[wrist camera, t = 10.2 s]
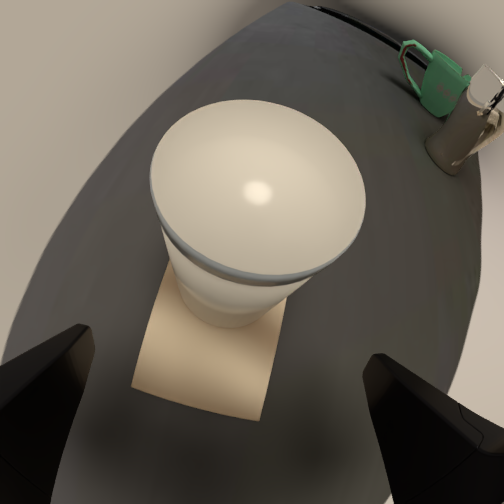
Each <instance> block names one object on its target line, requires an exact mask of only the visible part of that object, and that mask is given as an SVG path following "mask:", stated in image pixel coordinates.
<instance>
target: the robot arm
mask: <svg viewBox="0 0 504 504" xmlns="http://www.w3.org/2000/svg"><path fill="white" fill-rule="evenodd" d="M94 353H95V345H94V340H93V335H92V330H91V328H90V327H89V326H87V325H83V324H76V325H74V326H72V327H71V328H69V329H67V330H65V331H63V332H61V333H59V334H57V335H56V336H54V337H52V338H50V339H48V340H46V341H45V342H43V343H41V344H39V345H37V346H35V347H34V348H32V349H30V350H28V351H26V352H24V353H23V354H21V355H19V356H17V357H15V358H14V359H12V360H10V361H8V362H6V363H5V364H3V365H1V366H0V504H50V502H51V497H52V492H53V488H54V484H55V480H56V476H57V472H58V468H59V464H60V461H61V457H62V454H63V450H64V447H65V444H66V441H67V438H68V435H69V432H70V429H71V426H72V423H73V420H74V417H75V414H76V411H77V409H78V406H79V403H80V401H81V398H82V395H83V392H84V389H85V385H86V381H87V377H88V374H89V370H90V367H91V363H92V360H93V357H94ZM363 382H364V387H365V391H366V396H367V401H368V407H369V411H370V415H371V419H372V422H373V426H374V429H375V432H376V436H377V439H378V443H379V446H380V450H381V454H382V457H383V461H384V465H385V469H386V473H387V477H388V481H389V485H390V489H391V493H392V498H393V501H394V504H504V428H502V427H500V426H498V425H496V424H494V423H492V422H490V421H489V420H487V419H484V418H483V417H481V416H479V415H478V414H476V413H474V412H472V411H471V410H469V409H467V408H466V407H464V406H463V405H461V404H460V403H458V402H457V401H455V400H454V399H452V398H450V397H449V396H448V395H446V394H445V393H443V392H441V391H440V390H438V389H437V388H435V387H434V386H432V385H431V384H429V383H428V382H426V381H425V380H423V379H422V378H420V377H419V376H417V375H416V374H414V373H413V372H411V371H410V370H408V369H407V368H405V367H404V366H402V365H401V364H399V363H398V362H396V361H395V360H393V359H392V358H390V357H389V356H387V355H386V354H383V353H379V354H373V355H372V356H371V358H370V360H369V361H368V363H367V365H366V367H365V369H364V371H363Z"/></svg>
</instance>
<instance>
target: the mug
mask: <svg viewBox="0 0 504 504" xmlns="http://www.w3.org/2000/svg"><path fill="white" fill-rule="evenodd" d="M410 47H413V48H415V49H417V50H418V51H420V52H421V53H422V55H423V56H424V57H425V58H426V59H427V60H428V61H429V65H428V67H427V70H426V72H425V75H424V79H423V83H422V88H421V90H420V89H419V87H418V86H417V85H416V83H415V82H414V80H413V79H412V78H411V77H410V75H409V72H408V68H407V65H406V61H405V58H404V55H405V53H406V51H407V49H408V48H410ZM398 59H399V62H400V65H401V67H402V70H403V73H404V76H405V79H406V81H407V82H408V83H409V85H410V86H411V87H412V88H413V90H414V91H415V93H416V94H417V95H418V97H419V98H420V99H419V100H420V102H421V104H422V105H423V106H424V107H425V108H426V109H427V110H428V111H429V112H430V113H432V114H433V115H434V116H436V117H442V116H444V115H446V114H448V113H450V112H451V110H452V108H453V106H454V104H455V102H456V100H457V98H458V97H459V95H460V93H461V91H462V90H463V89H464V87H465V86H466V84H467V83H468V82H469V81H470V79H471V77H470V76H469V75H468V74H467V75H465V76H464V77H462V76H461V73H462V68H461V67H460V66H458V65H457V64H456V63H455V62H454V61H452V60H451V59H450V58H448V57H447V56H445V55H444V54H442V53H441V52H439V51H437V50H434V51H433V52H432V54H431V53H430V52H429V51H428V50H427V49H425V48H424V47H423V46H422V45H421V44H419V43H418V42H416V41H414V40H410V41H403V44H402V47H401V50H400V53H399V56H398Z"/></svg>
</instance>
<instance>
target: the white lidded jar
mask: <svg viewBox="0 0 504 504" xmlns="http://www.w3.org/2000/svg"><path fill="white" fill-rule="evenodd" d="M150 188H151V194H152V198H153V202H154V206H155V210H156V213H157V217H158V220H159V222H160V224H161V227H162V231H163V235H164V239H165V243H166V246H167V250H168V254H169V257H170V261H171V264H172V268H173V271H174V275H175V278H176V281H177V285H178V288H179V291H180V294H181V297H182V299H183V301H184V303H185V304H186V306H187V307H188V308H189V310H190V311H191V312H192V313H193V314H194V315H195V316H197V317H198V318H199V319H201V320H202V321H204V322H206V323H208V324H210V325H213V326H217V327H222V328H237V327H242V326H246V325H248V324H251V323H253V322H254V321H256V320H258V319H259V318H260V317H262V316H263V315H264V314H266V313H267V312H268V311H270V310H271V309H272V308H273V307H275V306H276V305H277V304H279V303H280V302H281V301H282V300H284V299H285V298H286V297H287V296H289V295H290V294H291V293H292V292H294V291H295V290H296V289H297V288H299V287H300V286H301V285H302V284H304V283H305V282H306V281H307V280H309V279H310V278H311V277H312V276H314V275H315V274H317V273H319V272H320V271H322V270H323V269H325V268H326V267H327V266H328V265H330V264H331V263H332V262H333V261H334V260H336V259H337V258H338V257H339V256H340V255H341V254H343V253H344V252H345V251H346V250H347V249H348V247H349V246H350V245H351V244H352V242H353V241H354V240H355V238H356V236H357V234H358V232H359V231H360V228H361V225H362V222H363V219H364V212H365V190H364V184H363V181H362V177H361V174H360V172H359V169H358V167H357V165H356V163H355V161H354V159H353V158H352V156H351V155H350V153H349V152H348V150H347V149H346V148H345V146H344V145H343V144H342V143H341V142H340V141H339V140H338V139H337V138H336V137H335V136H334V135H333V134H332V133H331V132H330V131H329V130H328V129H326V128H325V127H324V126H322V125H321V124H320V123H318V122H316V121H315V120H313V119H312V118H310V117H308V116H306V115H304V114H302V113H300V112H298V111H296V110H293V109H291V108H288V107H285V106H282V105H279V104H274V103H270V102H264V101H257V100H230V101H223V102H218V103H214V104H210V105H207V106H204V107H202V108H199V109H197V110H195V111H193V112H191V113H189V114H187V115H186V116H184V117H183V118H181V119H180V120H179V121H177V122H176V123H175V124H174V125H173V126H172V127H171V128H170V129H169V130H168V131H167V132H166V133H165V135H164V136H163V138H162V139H161V141H160V142H159V144H158V146H157V148H156V150H155V153H154V155H153V158H152V162H151V166H150Z"/></svg>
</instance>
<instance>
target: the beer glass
mask: <svg viewBox="0 0 504 504" xmlns="http://www.w3.org/2000/svg"><path fill="white" fill-rule="evenodd" d="M503 132H504V82H503V81H502V79H500V77H499V76H498V75H497V74H496V73H495V72H494V71H493V70H492V69H490V68H489V67H488V66H487V65H486V64H484V65H483V66H482V67H481V68H480V69H479V71H478V72H477V73H476V74H475V75H474V76H473V77H472V78H471V79H470V81H469V82H468V83H467V84H466V86H465V87H464V89H463V90H462V91H461V93H460V95H459V97H458V98H457V100H456V102H455V104H454V106H453V108H452V110H451V112H450V114H449V116H448V118H447V120H446V121H445V123H444V124H443V125H442V127H441V128H440V129H439V130H438V131H437V132H435V133H434V134H433V135H431V136H430V137H429V138H428V139H427V140H426V141H425V147H426V150H427V152H428V154H429V155H430V157H431V158H432V160H433V161H434V162H435V163H436V164H437V166H438V167H439V168H441V169H442V170H443V171H444V172H446V173H447V174H449V175H456V174H457V173H458V172H459V170H460V169H461V167H462V166H463V164H464V163H465V162H466V160H467V159H468V158H469V157H470V156H472V155H473V154H474V153H475V152H477V151H478V150H480V149H481V148H483V147H484V146H486V145H488V144H489V143H491V142H492V141H494V140H495V139H496V138H498V137H499V136H500V135H501V134H502V133H503Z"/></svg>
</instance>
